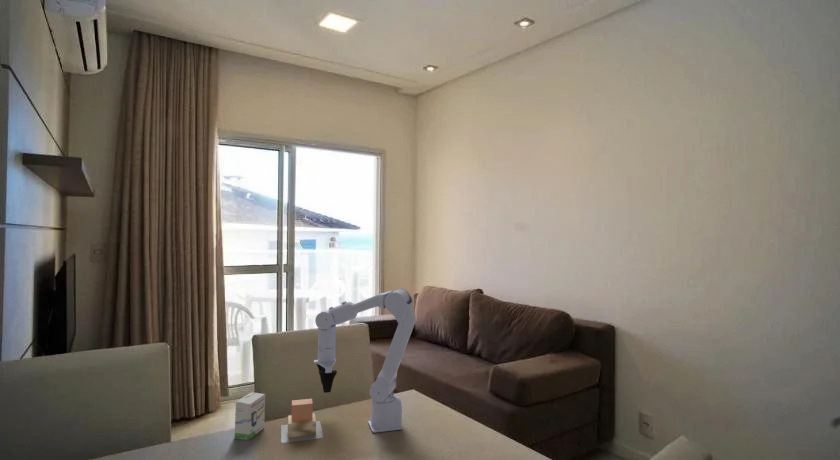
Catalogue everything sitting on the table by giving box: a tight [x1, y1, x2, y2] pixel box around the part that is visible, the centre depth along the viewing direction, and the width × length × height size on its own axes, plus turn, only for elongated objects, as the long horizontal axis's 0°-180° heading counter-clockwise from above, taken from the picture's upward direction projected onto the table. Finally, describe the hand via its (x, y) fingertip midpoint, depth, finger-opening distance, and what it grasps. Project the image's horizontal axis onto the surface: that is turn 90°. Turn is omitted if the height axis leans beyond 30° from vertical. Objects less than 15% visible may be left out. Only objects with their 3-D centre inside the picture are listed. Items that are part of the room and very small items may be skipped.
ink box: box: [233, 391, 266, 441], centre depth 134 cm, size 9×5×12 cm, turn 168°
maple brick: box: [287, 412, 317, 437], centre depth 136 cm, size 8×6×4 cm
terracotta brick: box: [291, 398, 314, 422], centre depth 136 cm, size 6×4×5 cm, turn 107°
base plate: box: [280, 420, 324, 444], centre depth 136 cm, size 12×12×1 cm
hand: (325, 387), depth 147 cm, fingers open, 7 cm apart
